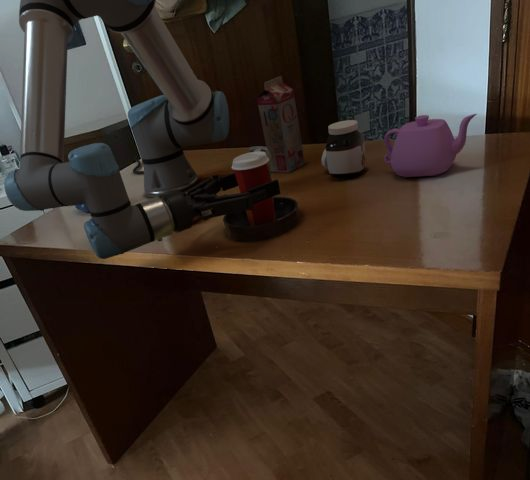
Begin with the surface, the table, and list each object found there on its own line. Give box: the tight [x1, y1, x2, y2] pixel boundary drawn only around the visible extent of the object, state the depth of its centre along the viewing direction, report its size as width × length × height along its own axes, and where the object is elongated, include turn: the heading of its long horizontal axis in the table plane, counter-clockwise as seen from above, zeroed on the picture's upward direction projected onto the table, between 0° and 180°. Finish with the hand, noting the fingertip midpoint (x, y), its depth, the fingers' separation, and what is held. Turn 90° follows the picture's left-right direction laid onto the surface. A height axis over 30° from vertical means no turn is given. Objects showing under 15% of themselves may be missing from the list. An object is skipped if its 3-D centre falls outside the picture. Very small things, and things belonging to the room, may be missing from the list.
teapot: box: [383, 113, 478, 178], centre depth 116 cm, size 20×13×12 cm, turn 64°
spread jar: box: [320, 119, 367, 180], centre depth 127 cm, size 12×11×12 cm
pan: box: [222, 196, 301, 242], centre depth 112 cm, size 16×16×3 cm
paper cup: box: [231, 151, 276, 226], centre depth 109 cm, size 8×8×14 cm
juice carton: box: [256, 75, 306, 173], centre depth 138 cm, size 7×7×22 cm
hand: (263, 180), depth 108 cm, fingers open, 13 cm apart
